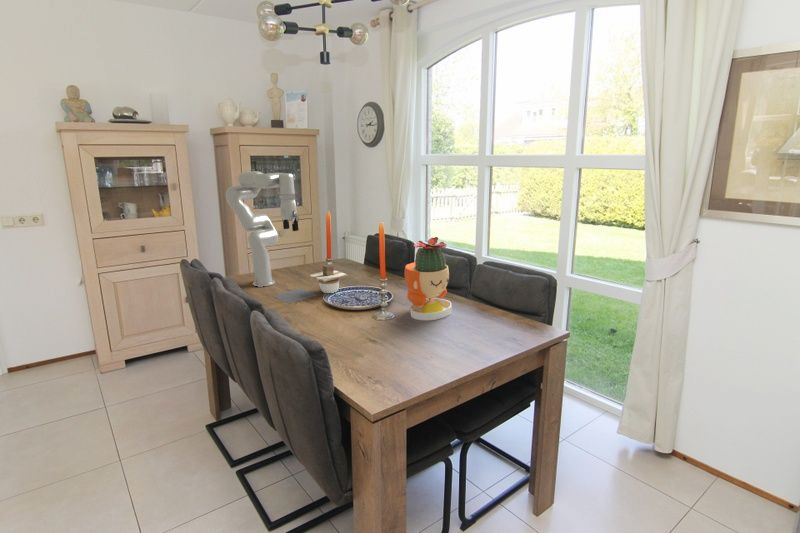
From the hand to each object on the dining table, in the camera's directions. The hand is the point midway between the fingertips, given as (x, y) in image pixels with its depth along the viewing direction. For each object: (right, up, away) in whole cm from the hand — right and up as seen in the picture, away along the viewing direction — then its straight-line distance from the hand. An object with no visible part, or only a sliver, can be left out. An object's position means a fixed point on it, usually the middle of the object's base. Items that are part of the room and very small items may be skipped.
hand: (291, 229), depth 243 cm
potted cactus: (+71, -41, -29) cm, 87 cm away
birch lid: (+20, -25, +2) cm, 31 cm away
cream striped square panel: (+2, -35, 0) cm, 35 cm away
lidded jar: (+20, -34, +4) cm, 40 cm away
